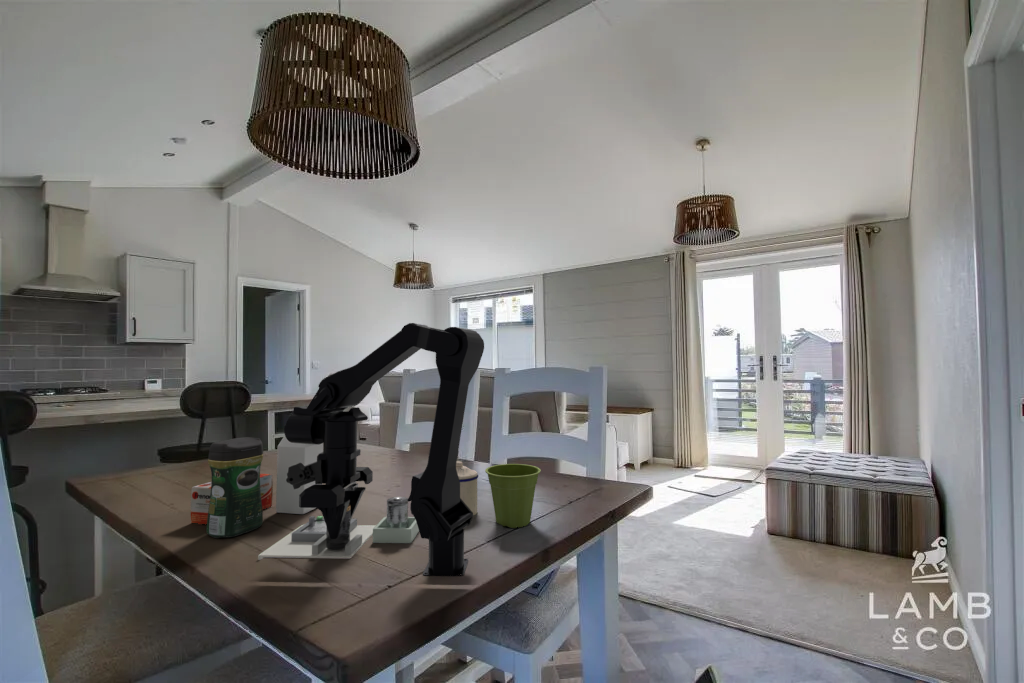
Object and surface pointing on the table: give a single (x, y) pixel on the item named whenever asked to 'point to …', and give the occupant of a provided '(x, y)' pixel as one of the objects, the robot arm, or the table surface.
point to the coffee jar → (235, 487)
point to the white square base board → (317, 543)
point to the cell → (340, 533)
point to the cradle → (316, 525)
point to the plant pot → (513, 492)
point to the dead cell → (397, 512)
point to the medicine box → (203, 491)
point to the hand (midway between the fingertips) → (338, 534)
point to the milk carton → (286, 458)
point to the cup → (395, 532)
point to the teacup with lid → (468, 486)
